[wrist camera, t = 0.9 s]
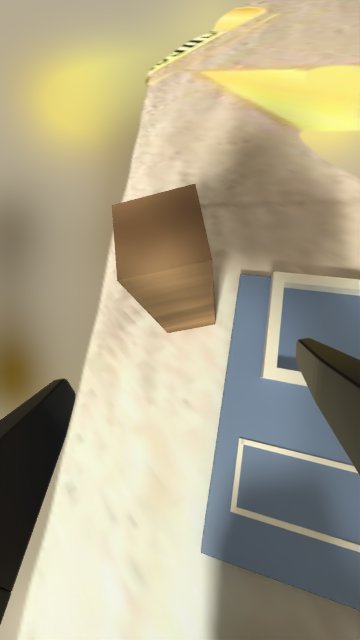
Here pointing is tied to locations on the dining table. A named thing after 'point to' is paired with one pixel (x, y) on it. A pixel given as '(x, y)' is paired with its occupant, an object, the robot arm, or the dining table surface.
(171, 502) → the dining table surface
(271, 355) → the blueprint board
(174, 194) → the walnut column
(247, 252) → the dining table surface
